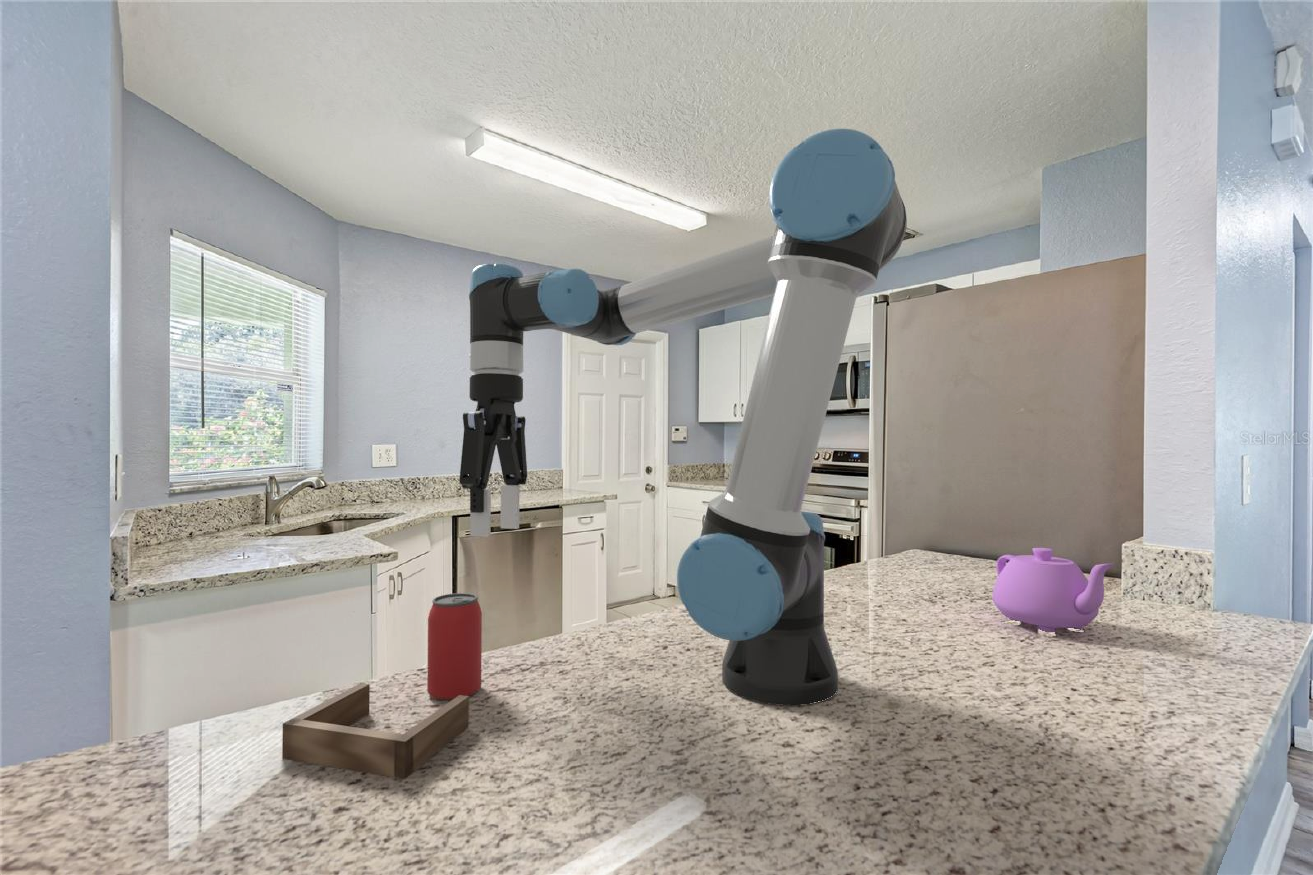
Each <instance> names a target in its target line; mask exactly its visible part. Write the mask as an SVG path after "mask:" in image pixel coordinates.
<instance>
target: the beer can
mask: <svg viewBox="0 0 1313 875" xmlns="http://www.w3.org/2000/svg"><path fill="white" fill-rule="evenodd" d="M478 600H479V596H478V595H476V594H473V593H468V592H467V593H465V592H458V593H457V592H456V593H455V592H454V593H447V594H443V595H438V596H436V597H435V598H433V599H432V605H431V608H430V610H429V613H428V617H427V680H426V681H427V687H426V688H427V693H428V695H429V696H430V697H431V698H433V699H435V700H438V701H445V702H446V701H449V702H450V701H452V700H453V699H454V698H456V697H457V696H459V695H464V696H469V697H472V696H473V695H475V694H476V693H478V691H479V690H480V689H481V688H482V653H483V652H482V644H483V642H482V641H483V640H482V631H483V630H482V629H483V628H482V623H483V622H482V621H483V618H482V617H483V616H482V613H483V612H482V608H481V606H480V603H479V601H478Z"/></svg>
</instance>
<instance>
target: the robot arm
mask: <svg viewBox="0 0 1313 875" xmlns="http://www.w3.org/2000/svg"><path fill="white" fill-rule="evenodd" d="M768 193H769V194H768V196H769V197H768V200H769V207H770V213H771V216H772V219H773V221H774V222H775V224H776V225H775V226H776V227H775V230H774V233H773V235H771V236H768V237H766V238H762V239H759V240H756V241H753V242H750V243H746V244H744V245H741V246H737V247H736V248H731V249H730V250H729V249H728V250H725V251H723V252H720V253H717V254H713V255H711V256H707V257H704V258H701V259H698V260H695V261H692V262H690V263H687V264H686V263H685V264H684V265H680V266H678V267H674V268H670V269H668V270H665V271H662V272H659V273H656V274H653V275H650V276H647V277H644V278H640V279H637V280H634V281H632V282H629V283H626V284H623V285H620V286H617V287H614V288H610V289H607V290H601V289H598V288H597V285H596V283H595V281H594V280H593V279H591V277H590V275H589V273H588V272H587V271H585V270H583V269H581V268H567V269H566V268H557V269H553V270H551V271H547V272H542V273H541V272H540V273H536V274H530V275H525V276H524V274H523V271H521V270H520V269H519V268H518V267H516V266H513V265H510V264H505V263H495V264H494V263H484V264H480V265H477V266H476V267H475V268H473V270H472V272H471V275H470V289H469V294H468V299H469V325H470V326H469V327H470V328H469V329H470V330H469V338H470V339H469V343H470V348H469V349H470V352H469V371H471V372H473V373H474V374H471V375H470V376H469V400H471V401H472V402H476V403H477V404H476V409H475V411H464V412H463V414H462V424H463V436H462V437H463V438H462V447H461V448H462V449H461V457H460V458H461V460H460V469H459V484H460V485H461V487H462V489H464V490H466V489H467V490H469V511H470V513H469V515H470V516H469V518H470V519H469V521H470V522H469V524H470V525H469V528H470V529H469V533H470V534H469V535H470V537H482V538H483V537H485V538H488V537H491V536H492V535H491V532H492V530H491V526H492V523H491V520H492V519H491V517H492V516H491V514H492V513H491V512H492V511H491V507H492V503H491V501H492V500H491V499H492V498H491V497H492V496H491V494H492V492H491V491H492V490H491V489H492V488H487V487H488V484H489V479H490V475H491V470H492V464H493V461H494V455H495V450H496V448H497V453H498V459H499V463H500V469H501V474H502V478H503V483H504V484H501V485H500V529H506V530H507V529H509V530H517V529H520V485H521V486H523V485H526V483H527V478H528V467H527V466H528V465H527V464H528V463H527V451H526V450H527V449H526V448H527V447H526V435H525V431H526V430H525V429H526V417H525V416H523V415H522V416H518V415H516V409H515V403H521V402H522V401H523V400H524V378H522V376H521V375H520V374H522V373H523V372H524V332H531V331H540V330H541V331H542V330H553V331H554V330H555V331H557V332H558V331H559V332H562V333H565V334H569V335H573V336H576V337H581V338H584V339H587V340H591V341H594V342H598V344H599V343H600V344H602V345H605V346H623V345H626V344H628V343H629V342H630V341H631V340H632V339H633V338H635V336H636V335H637V334H639V333H642V332H647V331H650V330H653V329H658V328H661V327H665V326H668V325H669V326H670V325H672V324H675V323H679V322H682V321H687V320H691V319H694V318H697V317H701V316H704V315H707V314H708V315H709V314H712V313H715V312H718V311H722V310H727V309H730V308H733V307H736V306H740V305H744V304H748V303H751V302H755V301H758V300H759V301H760V300H763V299H767V298H768V297H769V298H770V297H772V302H771V306H770V310H769V315H768V318H767V323H766V326H765V329H764V330H765V331H764V332H763V338H762V341H761V342H762V343H761V345H760V350H759V353H758V354H759V355H758V359H757V362H756V366H755V370H754V374H753V378H752V381H751V382H752V383H751V386H750V390H749V395H748V399H747V403H746V405H745V406H746V407H745V410H744V416H743V419H742V424H741V427H740V432H739V434H738V440H737V444H736V447H735V451H734V455H733V459H732V463H731V468H730V471H729V475H728V481H727V484H726V487H725V488H726V489H725V490H724V491H723V492H722V493H721V494H720V495H718V496H716V497H714V498H712V499H711V500H710V501H709V503H708V505H707V509H706V514H705V516H704V521H703V524H702V530H701V533H700V537H698V538H697V539H695V540H694V541H692V542H691V543H690V544H689V546H688V547H687V548H686V550H685V551H684V552H683V554H682V556H681V558H680V560H679V562H678V566H677V569H676V570H677V571H676V572H677V573H676V584H677V586H676V587H677V591H678V596H679V598H680V601H681V604H683V606H684V607H685V610H686V611H687V612H688V616H689V617H690V618H691V620H693V622H694V623H695V624H696V625H697V626H699V627H700V628H701V629H702V630H704V631H705V632H706V633H708V634H710V635H712V636H713V637H716V638H719V639H722V640H724V641H725V640H726V641H728V644H727V647H726V649H725V652H724V655H723V656H724V657H723V660H722V663H721V675H722V676H721V679H722V683H723V685H724V687H726V689H727V690H729V691H731V692H732V693H733V694H735V693H736V695H738V696H739V697H742V696H743V698H744V697H745V699H748V700H751V701H754V700H755V701H754V702H758V703H762V704H763V703H764V704H768V703H770V704H769V705H776V704H783V705H782V706H802V705H801V704H807V705H811V704H810V703H814V702H818V701H822V700H825V699H827V698H829V697H831V696H833V695H834V694H835V693H836V694H837V692H838V690H839V671H838V668H837V667H838V666H837V664H836V661H835V657H834V655H833V651H832V649H831V646H830V643H829V639H828V637H827V636H828V635H827V634H826V630H825V619H824V618H825V616H824V615H825V613H824V611H825V593H824V592H825V590H824V589H825V584H824V583H825V570H824V569H825V540H826V535H825V530H824V521H823V518H822V517H821V516H820V515H819V514H817V513H815V512H811V511H810V512H809V511H802V508H803V502H804V499H805V497H806V496H805V495H806V491H807V488H808V484H809V482H810V481H809V480H810V476H811V473H812V468H813V465H814V461H815V457H816V455H817V454H816V453H817V450H818V446H819V442H820V438H821V433H822V430H823V427H824V423H825V419H826V414H827V411H828V408H829V404H830V399H831V396H832V393H833V392H832V391H833V388H834V384H835V380H836V378H837V373H838V370H839V365H840V361H841V358H842V354H843V350H844V346H845V342H846V339H847V334H848V331H849V329H850V328H849V327H850V324H851V320H852V316H853V312H854V307H855V305H856V300H857V298H858V297H859V296H860V295H862V294H863V293H864V292H867V291H868V290H869V289H871V288H873V287H874V286H875V285H876V282H877V280H878V277H879V276H878V275H879V271H881V269H883V268H884V267H885V266H886V265H887V264H889V263H890V262H891V261H892V259H893V258H894V257H896V255H897V253H898V251H899V250H900V248H901V246H902V244H903V241H904V239H905V236H906V232H907V228H908V227H907V222H908V220H907V219H908V218H907V210H906V207H905V204H904V201H903V198H902V197H901V194H900V190H899V187H898V184H897V182H896V172H895V168H894V165H893V162H892V160H891V159H890V156H889V155H888V154H887V153H886V152H885V151H884V149H883V147H882V146H881V144H880V143H879V142H877V140H875V139H874V138H873V137H871V136H870V135H869V134H867V133H864V132H862V131H858V130H856V129H852V128H851V129H850V128H834V129H833V128H832V129H828V130H827V129H826V130H823V131H820V132H818V133H815V134H813V135H811V136H808V137H807V138H805V139H804V140H803V141H802V142H800V143H799V144H798V145H797V146H794V147H793V148H792V149H791V150H789V152H788V153H786V155H785V156H784V157H783V159H782V160H781V161H780V162H779V164H778V166H777V167H776V169H775V170H774V174H773V176H772V179H771V182H770V186H769V192H768ZM836 691H837V692H836ZM836 694H835V695H836ZM835 695H834V696H835ZM834 696H833V697H834ZM831 698H832V697H831ZM829 699H830V698H829ZM827 700H828V699H827ZM825 701H826V700H825ZM822 702H823V701H822ZM818 703H819V702H818ZM814 704H815V703H814Z"/></svg>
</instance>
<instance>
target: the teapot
mask: <svg viewBox="0 0 1313 875" xmlns="http://www.w3.org/2000/svg"><path fill="white" fill-rule="evenodd" d="M1032 552H1033V555H1031V554H1023V555H1021V554H1020V555H1012V554H1004V555H1002V556H1000V557H999V558H997V561H996V574H997V578H996V581H995V583H994V586H993V590H992V591H993V592H992V602H993V604H994V606H996V607H995V608H997V610H998V611H999V612H1000V613H1001V614H1002V615H1003V616H1004V617H1006V618H1009V619H1012V620H1015V621H1020V622H1022V623H1025V624H1030V625H1033V626H1035V625H1036V626H1037V630H1038V629H1040V630H1042V631H1045V632H1056V633H1057V630H1056V628H1057V629H1059V628H1060V629H1066V628H1074V629H1080V630H1081V629H1084V627H1086V626H1088V625H1089V624H1091V623H1092V622H1093V621H1094V620H1095V619H1096V618H1097V617H1098V615H1099V609H1100V607H1101V606H1102V605H1103V601H1104V597H1105V587H1104V584H1105V583H1104V577H1105V573H1106V572H1107V571H1108V569H1109V568H1110V567H1111V566H1113V565H1115V564H1116V562H1111V563H1101V564H1095V565H1094V566H1093V567H1092V568H1091V570H1090V572H1089V578H1087V577H1086V575H1085V574H1084V572H1083V571H1082V570H1081V568H1080V567H1079V565H1078V564H1077V563H1076V562H1074V560H1070V559H1067V558H1062V557H1057V556H1053V554H1054V549H1052V548H1047V547H1034V548H1032ZM1007 561H1008V562H1007Z"/></svg>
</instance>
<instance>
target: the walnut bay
mask: <svg viewBox="0 0 1313 875" xmlns="http://www.w3.org/2000/svg"><path fill="white" fill-rule="evenodd" d="M370 684H371V683H365V682H360V683H358V684H356V685H354V686H353V687H350V688H348V689H346V690H344V691H343V692H341V693H339V694H337V695H335V696H333V697H331V698H329V699H327V700H325V701H323V702H322V703H320V704H318V705H315V706H314V707H311V708H310V709H308V710H306V711H304V712H302V713H299V714H298V715H297V716H295V717H293V718H290V719H289V720H287V721H285V722H283V723H282V738H281V739H282V743H281V744H282V748H281V749H282V752H281V753H282V754H281V756H282V757H281V759H283V760H291V761H295V762H302V763H307V764H308V763H309V764H315V765H319V766H326V767H330V768H337V769H343V770H349V771H355V772H362V773H367V774H372V775H373V774H374V775H380V776H384V777H390V778H391V777H392V778H395V779H396V778H397V779H403V780H406V779H407V778H408V777H410V775H412V774H413V773H414V772H415V771H417V770H418V769H419V768H420V767H422V766H423V765H425V763H427V762H428V761H429V760H431V759H432V758H433V757H434V756H435V755H436V754H438V753H439V752H440V751H441V750H443V749H444V748H445V747H447V746H448V745H449V744H450V743H451V742H452V741H454V740H455V739H457V737H459V736H460V735H462V734H463V733H464V732H465V731H466V730H468V729H469V726H470V722H469V721H470V700H469V699H470V696H464V695H459V696H457V697H456V698H454V699H453V700H452V701H449V702H447V703H446V704H444V705H443V706H442V707H440V708H439V709H437V710H436V711H434V712H433V713H431V714H430V715H429V716H426V718H424V719H423V720H421V721H420V722H418V723H417V724H416V725H414V726H412V727H411V728H410V729H409V730H407V731H405V732H404V733H395V732H391V731H390V732H389V731H382V730H376V729H375V730H374V729H369V728H364V727H363V728H362V727H356V726H352V725H353V724H354V723H357V722H358V721H360V720H362V719H363V718H365V717H366V716H368V715H370V699H371V697H370V694H371V693H370V691H371V690H370V688H371V687H370V686H371V685H370Z"/></svg>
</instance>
